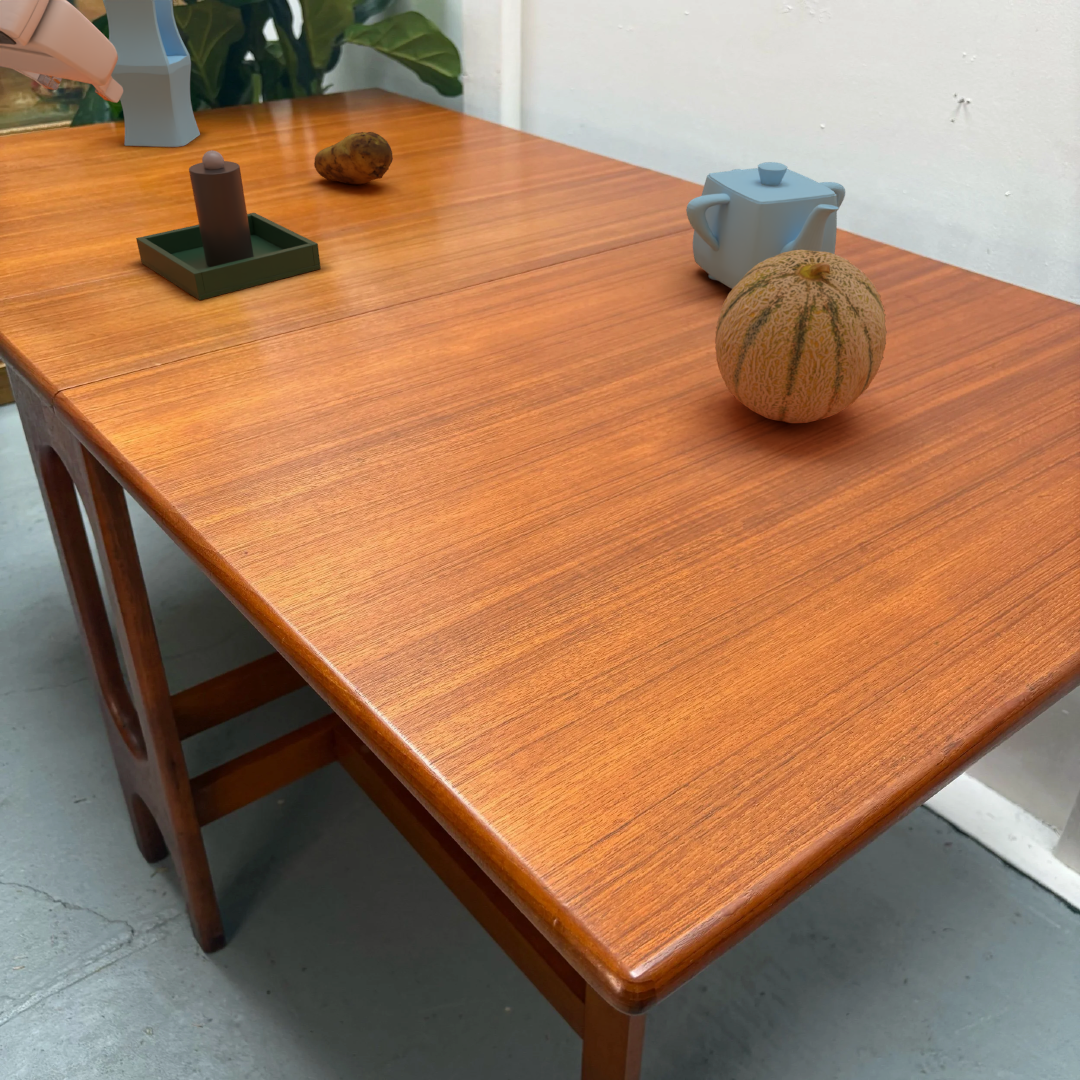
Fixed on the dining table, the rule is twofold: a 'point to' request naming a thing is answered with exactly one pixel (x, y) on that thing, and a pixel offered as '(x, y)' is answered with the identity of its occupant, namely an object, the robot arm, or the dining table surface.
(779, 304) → the cantaloupe
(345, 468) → the dining table surface
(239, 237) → the pepper mill
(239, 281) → the tray
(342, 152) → the potato
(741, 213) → the teapot
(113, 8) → the vase
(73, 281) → the dining table surface
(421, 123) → the dining table surface
